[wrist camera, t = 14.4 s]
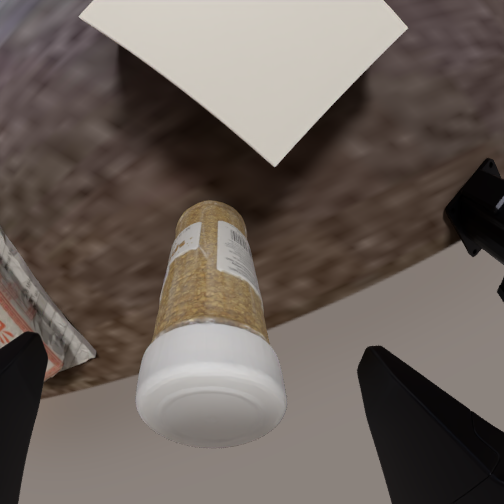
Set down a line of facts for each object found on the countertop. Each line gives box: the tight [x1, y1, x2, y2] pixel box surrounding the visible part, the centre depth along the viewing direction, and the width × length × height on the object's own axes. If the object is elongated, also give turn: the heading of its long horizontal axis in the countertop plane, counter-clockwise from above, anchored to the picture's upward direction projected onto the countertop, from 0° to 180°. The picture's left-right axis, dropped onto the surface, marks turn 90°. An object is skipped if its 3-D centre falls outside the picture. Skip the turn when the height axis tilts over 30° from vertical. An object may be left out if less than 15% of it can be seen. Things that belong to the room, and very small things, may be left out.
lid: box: [79, 0, 408, 167], centre depth 10 cm, size 11×10×1 cm
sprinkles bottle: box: [135, 200, 287, 448], centre depth 14 cm, size 5×5×14 cm
